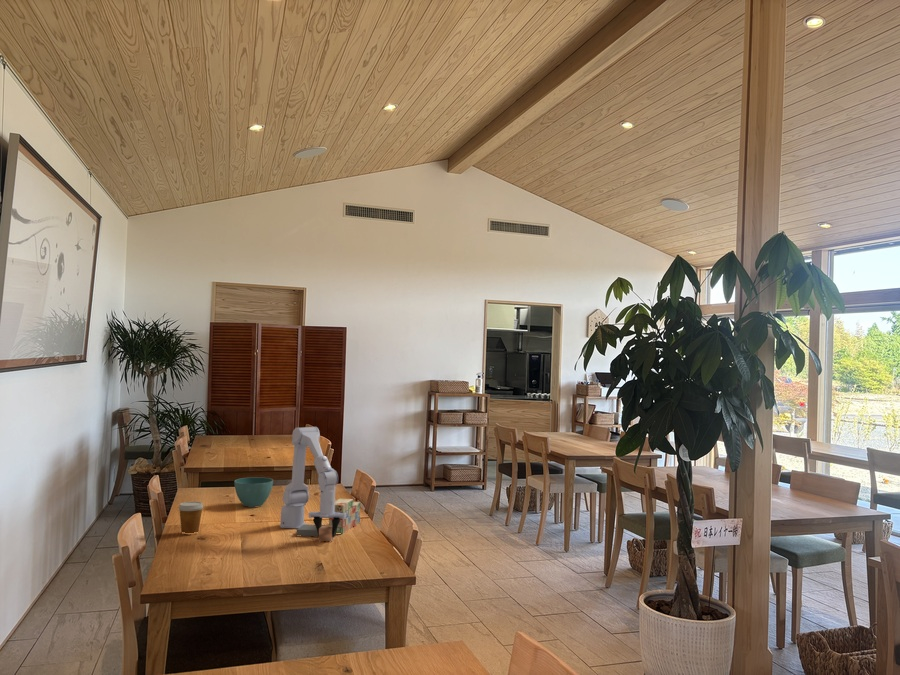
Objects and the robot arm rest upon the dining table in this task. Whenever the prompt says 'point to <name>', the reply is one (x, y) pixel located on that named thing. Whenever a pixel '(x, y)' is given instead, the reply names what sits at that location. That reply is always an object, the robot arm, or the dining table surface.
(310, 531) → the charcoal slab
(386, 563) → the dining table surface
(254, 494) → the teal bowl
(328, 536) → the terracotta cube
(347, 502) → the stack of blocks
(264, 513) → the dining table surface
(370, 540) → the dining table surface
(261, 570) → the dining table surface
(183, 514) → the disposable coffee cup
